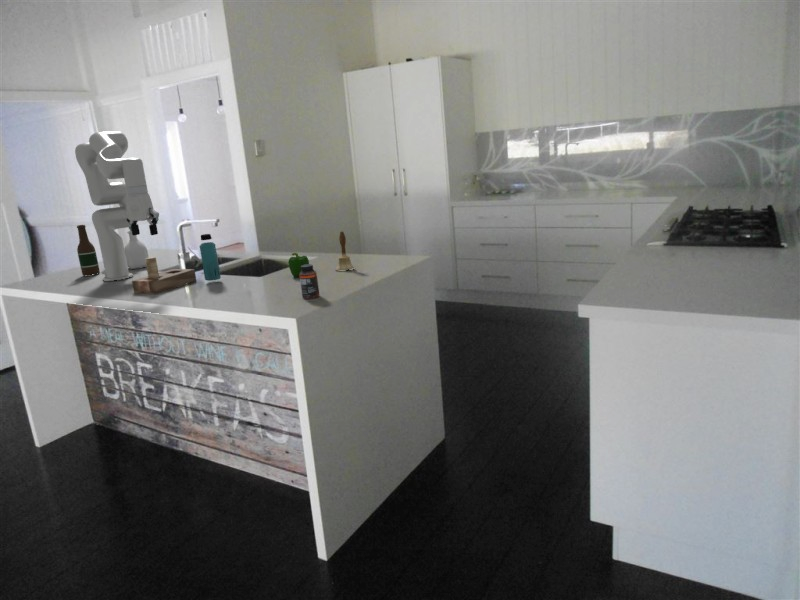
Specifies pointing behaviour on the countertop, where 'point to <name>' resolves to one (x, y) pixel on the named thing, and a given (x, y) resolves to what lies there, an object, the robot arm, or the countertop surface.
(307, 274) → the supplement bottle
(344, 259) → the hand bell
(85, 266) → the beer bottle
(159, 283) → the bore block
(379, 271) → the countertop surface
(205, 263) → the beverage bottle
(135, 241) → the soap bottle
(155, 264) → the pin
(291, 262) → the bell pepper
